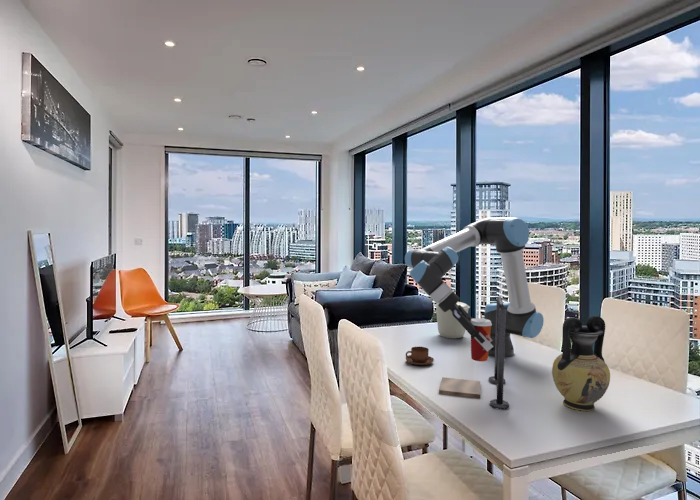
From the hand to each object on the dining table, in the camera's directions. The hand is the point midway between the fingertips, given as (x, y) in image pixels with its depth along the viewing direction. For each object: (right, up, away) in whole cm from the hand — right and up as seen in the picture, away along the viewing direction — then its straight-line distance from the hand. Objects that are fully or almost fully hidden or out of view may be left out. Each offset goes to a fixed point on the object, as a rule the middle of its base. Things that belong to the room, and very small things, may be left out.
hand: (489, 345), depth 160 cm
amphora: (+26, -18, -10) cm, 33 cm away
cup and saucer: (-20, -15, +34) cm, 42 cm away
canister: (+5, -12, +81) cm, 82 cm away
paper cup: (-3, -5, +1) cm, 6 cm away
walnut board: (-10, -16, +4) cm, 19 cm away
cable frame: (+3, -17, 0) cm, 17 cm away
